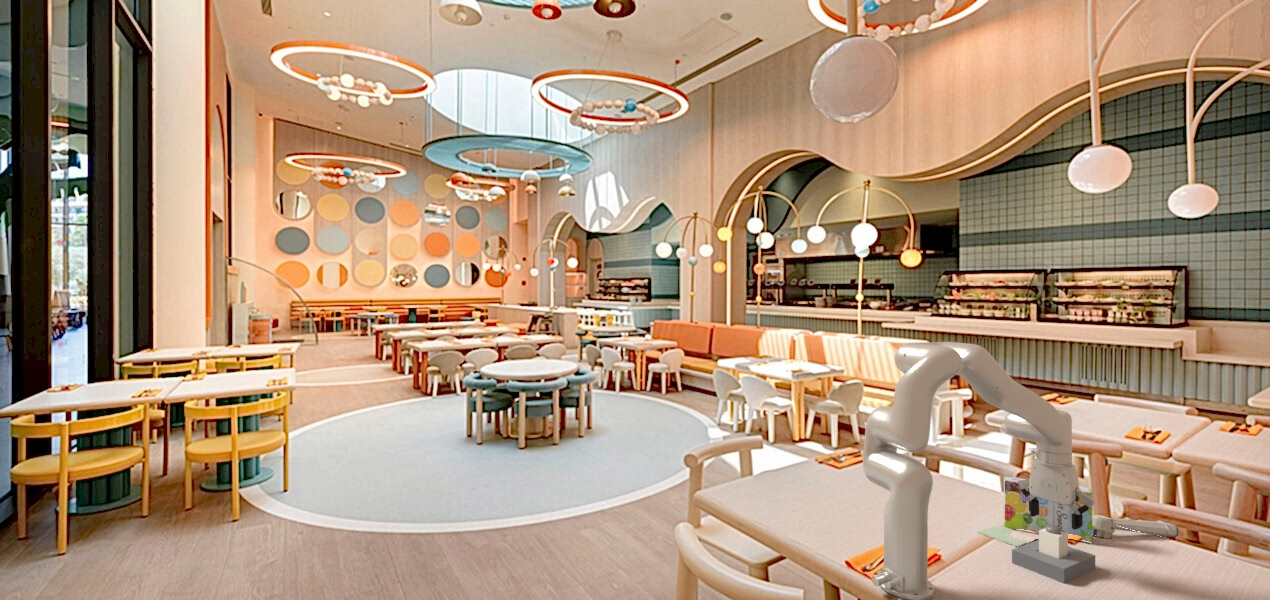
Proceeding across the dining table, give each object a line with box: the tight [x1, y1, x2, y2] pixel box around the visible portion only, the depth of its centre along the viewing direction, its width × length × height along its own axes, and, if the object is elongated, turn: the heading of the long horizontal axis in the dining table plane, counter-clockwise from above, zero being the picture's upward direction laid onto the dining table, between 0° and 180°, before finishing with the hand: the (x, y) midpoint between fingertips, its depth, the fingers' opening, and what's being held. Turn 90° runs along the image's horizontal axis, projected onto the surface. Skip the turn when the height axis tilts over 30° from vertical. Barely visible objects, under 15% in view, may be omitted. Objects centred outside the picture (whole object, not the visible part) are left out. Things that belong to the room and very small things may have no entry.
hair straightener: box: [1092, 514, 1180, 539], centre depth 165 cm, size 5×7×25 cm
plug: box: [1038, 525, 1069, 559], centre depth 146 cm, size 5×5×10 cm
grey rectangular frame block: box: [1011, 539, 1096, 584], centre depth 146 cm, size 16×12×4 cm
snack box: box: [1003, 476, 1093, 543], centre depth 167 cm, size 21×6×15 cm, turn 58°
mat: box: [977, 525, 1030, 547], centre depth 164 cm, size 11×11×1 cm
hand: (1054, 521), depth 146 cm, fingers open, 9 cm apart
